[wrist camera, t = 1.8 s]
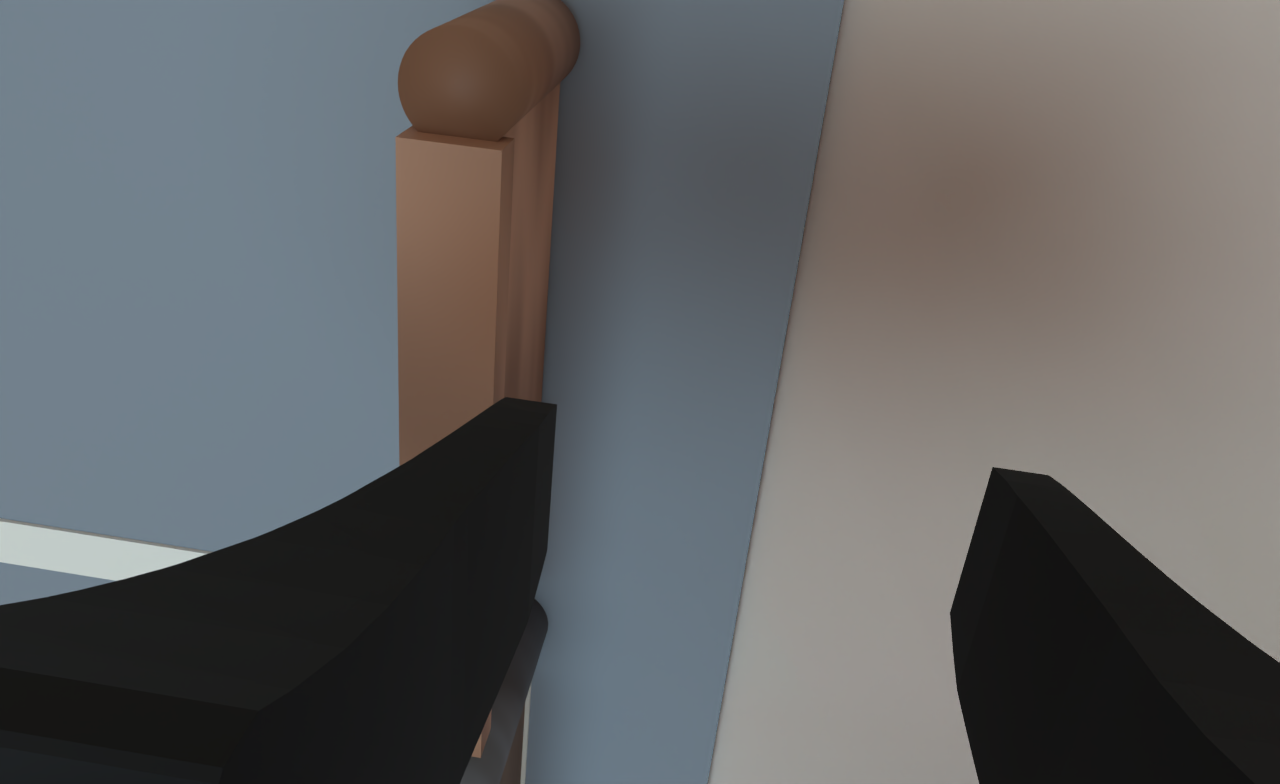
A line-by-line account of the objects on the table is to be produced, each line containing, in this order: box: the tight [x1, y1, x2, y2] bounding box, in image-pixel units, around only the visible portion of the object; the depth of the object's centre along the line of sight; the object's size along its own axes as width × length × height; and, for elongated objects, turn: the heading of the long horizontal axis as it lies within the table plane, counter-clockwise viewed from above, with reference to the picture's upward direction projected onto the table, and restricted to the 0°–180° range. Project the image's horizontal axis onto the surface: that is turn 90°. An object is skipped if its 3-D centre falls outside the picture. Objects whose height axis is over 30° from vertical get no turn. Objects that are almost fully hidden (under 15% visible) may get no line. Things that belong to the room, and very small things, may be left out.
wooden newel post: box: [395, 0, 580, 758], centre depth 18 cm, size 12×2×5 cm, turn 175°
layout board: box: [0, 0, 844, 784], centre depth 23 cm, size 20×26×1 cm
